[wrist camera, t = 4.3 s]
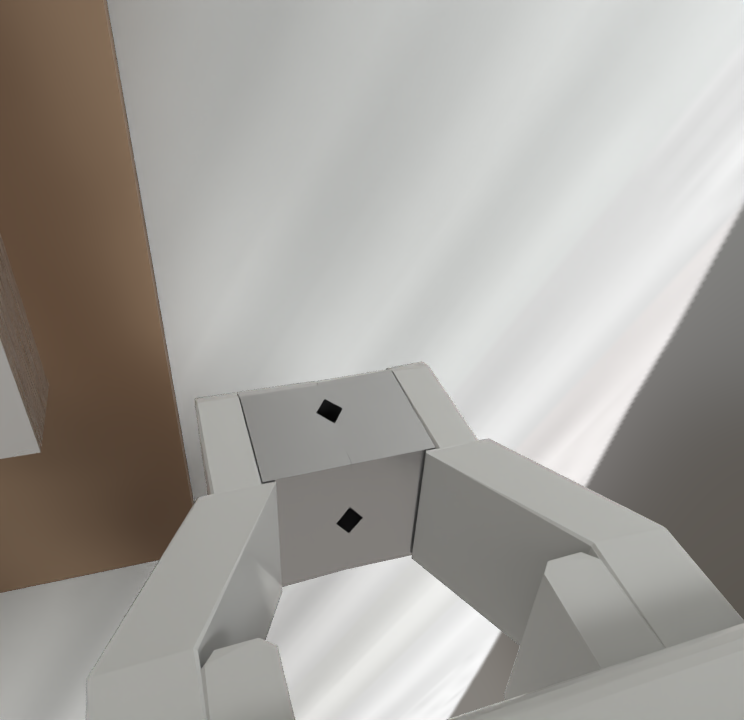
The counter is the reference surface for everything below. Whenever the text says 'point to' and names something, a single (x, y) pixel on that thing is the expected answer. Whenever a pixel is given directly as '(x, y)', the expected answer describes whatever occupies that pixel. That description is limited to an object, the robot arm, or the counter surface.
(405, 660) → the counter surface
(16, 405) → the aluminium plate
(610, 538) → the robot arm
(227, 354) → the counter surface
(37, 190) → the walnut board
